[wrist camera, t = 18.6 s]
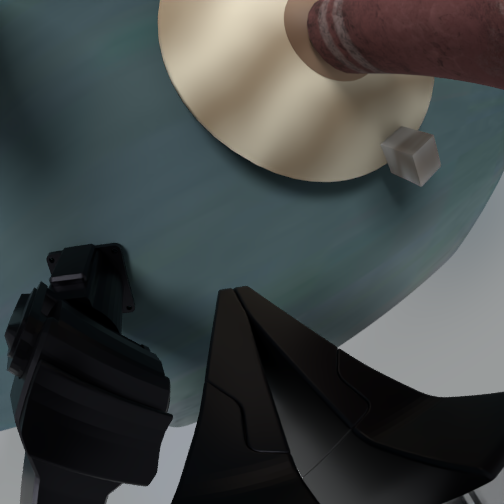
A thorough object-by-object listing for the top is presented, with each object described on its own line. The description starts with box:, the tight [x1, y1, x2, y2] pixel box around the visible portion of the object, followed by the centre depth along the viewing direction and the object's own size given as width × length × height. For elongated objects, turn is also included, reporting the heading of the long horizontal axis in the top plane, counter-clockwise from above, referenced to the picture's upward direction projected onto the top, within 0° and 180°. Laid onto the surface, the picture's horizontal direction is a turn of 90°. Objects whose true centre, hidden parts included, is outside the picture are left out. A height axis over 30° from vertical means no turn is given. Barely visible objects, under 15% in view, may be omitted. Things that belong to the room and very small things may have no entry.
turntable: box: [158, 0, 441, 187], centre depth 13 cm, size 24×23×5 cm
